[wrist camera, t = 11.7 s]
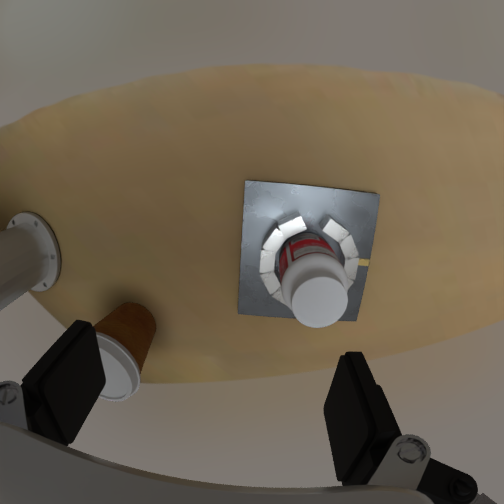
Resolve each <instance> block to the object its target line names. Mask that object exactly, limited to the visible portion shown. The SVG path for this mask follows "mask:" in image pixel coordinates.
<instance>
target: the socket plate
mask: <svg viewBox="0 0 504 504" xmlns="http://www.w3.org/2000/svg"><path fill="white" fill-rule="evenodd" d="M379 199H380V194H377V193H371V192H364V191H356V190H348V189H340V188H332V187H323V186H313V185H303V184H293V183H281V182H269V181H256V180H246V181H245V194H244V211H243V228H242V246H241V263H240V282H239V301H238V314H244V315H256V316H268V317H282V318H296V317H295V316H294V314H293V311H292V310H291V309H290V308H289V307H288V306H287V304H286V303H285V301H284V299H283V296H282V292H281V281H280V269H279V256H280V252H281V249H282V247H283V246H284V244H285V243H286V242H287V241H288V240H289V239H291V238H292V237H294V236H296V235H298V234H302V233H312V234H316V235H318V236H320V237H322V238H323V239H325V240H326V241H327V242H328V244H329V245H330V246H331V248H332V250H333V251H334V253H335V254H336V256H337V257H338V259H339V261H340V262H341V264H342V266H343V267H344V269H345V271H346V274H347V277H348V292H347V296H348V303H347V307H346V310H345V312H344V314H343V315H342V316H341V318H339V319H338V320H337V321H356V320H357V316H358V312H359V308H360V304H361V299H362V295H363V290H364V286H365V281H366V276H367V271H368V266H369V261H370V256H371V250H372V245H373V239H374V233H375V227H376V220H377V213H378V206H379Z"/></svg>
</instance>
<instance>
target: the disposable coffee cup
mask: <svg viewBox="0 0 504 504" xmlns="http://www.w3.org/2000/svg"><path fill="white" fill-rule="evenodd" d="M93 327H94V328H95V330H96V335H97V340H98V345H99V350H100V355H101V359H102V364H103V368H104V372H105V376H106V384H105V386H104V388H103V390H102V392H101V393H100V395H99V398H102V399H105V400H109V401H115V402H117V401H123V400H125V399H127V398H128V397H129V396H131V395H133V394H135V393H136V392H137V390H138V388H139V386H140V374H141V371H142V367H143V364H144V361H145V359H146V356H147V353H148V350H149V348H150V345H151V342H152V339H153V336H154V334H155V331H156V323H155V320H154V318H153V316H152V315H151V313H150V312H149V311H148V310H147V309H146V308H145V307H143V306H141V305H139V304H137V303H124V304H122V305H121V306H120V307H118V308H117V309H116V310H114V311H113V312H112V313H110V314H109V315H107V316H106V317H105V318H104V319H102V320H101V321H100V322H98V323H97V324H96V325H95V326H93Z"/></svg>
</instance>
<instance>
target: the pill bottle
mask: <svg viewBox="0 0 504 504" xmlns="http://www.w3.org/2000/svg"><path fill="white" fill-rule="evenodd" d="M279 269H280V281H281V292H282V296H283V299H284V301H285V303H286V304H287V306H288V307H289V308H290V309H291V310H292V311H293V314H294V316H295V317H296V318H297V320H298V321H299V322H301V323H302V324H304V325H306V326H309V327H313V328H321V327H326V326H329V325H331V324H333V323H335V322H336V321H337V320H338V319H339V318H341V316H342V315H343V314H344V312H345V310H346V307H347V303H348V296H347V292H348V277H347V274H346V271H345V269H344V267H343V266H342V264H341V262H340V261H339V259H338V257H337V256H336V254H335V253H334V251H333V250H332V248H331V246H330V245H329V244H328V242H327V241H326V240H325V239H323V238H322V237H320V236H318V235H316V234H312V233H302V234H298V235H296V236H294V237H292V238H291V239H289V240H288V241H287V242H286V243H285V244H284V246H283V247H282V249H281V252H280V256H279Z"/></svg>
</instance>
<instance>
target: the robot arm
mask: <svg viewBox="0 0 504 504" xmlns="http://www.w3.org/2000/svg"><path fill="white" fill-rule="evenodd" d="M60 266H61V260H60V252H59V247H58V244H57V241H56V238H55V236H54V234H53V232H52V230H51V229H50V227H49V226H48V224H47V223H46V222H45V221H44V220H43V219H42V218H41V217H40V216H38V215H37V214H35V213H32V212H22V213H19V214H17V215H15V216H14V217H13V218H12V219H11V220H10V222H9V224H8V226H7V229H6V230H4V231H1V232H0V310H2V309H3V308H5V307H6V306H7V305H9V304H10V303H11V302H13V301H14V300H16V299H17V298H18V297H20V296H21V295H23V294H24V293H25V292H27V291H28V290H30V289H31V290H34V291H40V292H41V291H45V290H47V289H49V288H50V287H52V286H53V285H54V284H55V282H56V281H57V279H58V276H59V273H60ZM22 381H23V383H22V384H21V386H20V385H19V384H18V383H16V382H14V381H3V382H0V504H497V503H495V502H494V501H493V500H491V499H490V498H489V497H488V496H486V495H485V494H484V493H482V494H481V495H479V494H478V493H477V492H478V488H477V483H476V481H475V480H474V479H473V478H472V477H471V476H470V475H468V474H465V473H463V472H461V471H459V470H456V469H454V468H452V467H450V466H447V465H445V464H443V463H441V462H439V461H436V460H434V459H432V458H430V455H431V451H430V447H429V446H428V444H427V442H426V441H424V440H423V439H422V438H420V437H419V436H415V435H409V434H406V435H402V434H401V431H400V429H399V427H398V424H397V422H396V420H395V417H394V415H393V413H392V410H391V408H390V406H389V403H388V401H387V399H386V397H385V394H384V392H383V390H382V388H381V386H380V385H377V384H376V382H375V380H374V378H373V375H372V373H371V371H370V369H369V366H368V364H367V362H366V360H365V358H364V355H363V353H362V352H346V353H345V355H341V356H340V359H339V362H338V365H337V368H336V371H335V375H334V378H333V381H332V384H331V387H330V390H329V393H328V396H327V398H326V401H325V404H324V416H325V421H326V426H327V431H328V436H329V441H330V446H331V451H332V455H333V461H334V466H335V471H336V477H337V480H338V481H342V485H343V486H333V487H314V488H266V487H247V486H233V485H224V484H215V483H207V482H200V481H193V480H187V479H181V478H176V477H170V476H165V475H160V474H156V473H151V472H147V471H143V470H139V469H135V468H131V467H128V466H124V465H120V464H117V463H114V462H110V461H107V460H104V459H101V458H98V457H94V456H92V455H89V454H86V453H83V452H81V451H78V450H75V449H72V448H70V447H67V446H68V444H71V443H72V442H73V441H74V440H75V438H76V436H77V434H78V432H79V430H80V429H81V427H82V425H83V423H84V421H85V420H86V418H87V416H88V414H89V412H90V411H91V409H92V407H93V405H94V403H95V402H96V400H97V399H98V397H99V395H100V393H101V392H102V390H103V388H104V386H105V384H106V376H105V372H104V368H103V364H102V359H101V355H100V350H99V345H98V340H97V335H96V330H95V328H94V327H92V324H91V323H90V322H86V321H82V320H76V321H75V322H74V323H73V324H72V325H71V326H70V327H69V328H68V329H67V330H66V331H65V332H64V333H63V335H62V336H61V337H60V338H59V339H58V340H57V341H56V342H55V343H54V344H53V345H52V346H51V347H50V349H49V350H48V351H47V352H46V353H45V354H44V355H43V356H42V357H41V359H40V360H39V361H38V362H37V363H36V364H35V365H34V367H32V369H31V370H30V371H29V372H28V373H27V374H26V376H25V377H24V378H23V379H22Z"/></svg>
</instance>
